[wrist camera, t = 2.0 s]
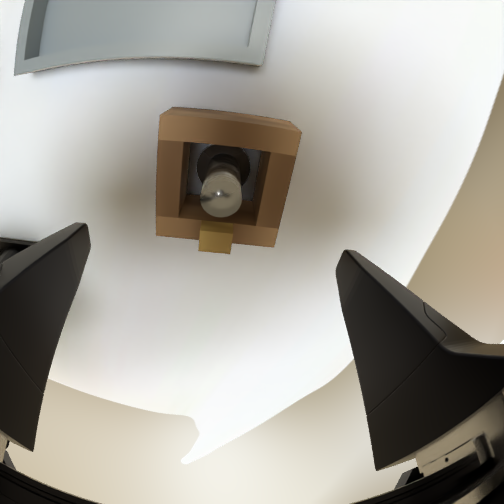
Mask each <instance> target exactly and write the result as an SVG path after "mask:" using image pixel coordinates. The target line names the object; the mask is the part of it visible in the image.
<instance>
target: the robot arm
mask: <svg viewBox="0 0 504 504" xmlns="http://www.w3.org/2000/svg"><path fill="white" fill-rule="evenodd" d="M90 248H91V243H90V237H89V231H88V226H87V224H86V223H74V224H72V225H70V226H68V227H66V228H64V229H62V230H60V231H58V232H56V233H54V234H52V235H50V236H48V237H47V238H45V239H43V240H41V241H39V242H37V243H33V242H25V241H17V240H10V239H2V238H0V504H101V503H98V502H94V501H91V500H88V499H84V498H81V497H78V496H75V495H72V494H70V493H67V492H64V491H62V490H59V489H56V488H54V487H51V486H49V485H47V484H44V483H42V482H40V481H37V480H35V479H33V478H31V477H29V476H27V475H25V474H23V473H21V472H19V471H17V470H16V469H15V467H14V465H13V463H12V461H11V459H10V457H9V454H8V452H7V451H6V450H5V449H6V448H7V447H8V445H9V442H10V441H11V442H13V443H14V444H17V445H19V446H21V447H23V448H25V449H27V450H29V451H32V452H33V450H34V444H35V438H36V431H37V425H38V420H39V415H40V410H41V404H42V400H43V396H44V394H43V393H44V390H45V387H46V382H47V379H48V375H49V371H50V367H51V364H52V360H53V357H54V354H55V350H56V347H57V344H58V341H59V338H60V335H61V332H62V329H63V326H64V323H65V320H66V317H67V315H68V312H69V309H70V307H71V304H72V301H73V299H74V296H75V294H76V291H77V289H78V286H79V283H80V280H81V277H82V274H83V270H84V267H85V264H86V261H87V258H88V255H89V252H90ZM336 279H337V284H338V290H339V296H340V303H341V308H342V312H343V316H344V320H345V324H346V328H347V331H348V335H349V339H350V343H351V347H352V351H353V356H354V360H355V364H356V368H357V373H358V377H359V382H360V386H361V391H362V396H363V401H364V406H365V411H366V415H367V422H368V427H369V433H370V439H371V445H372V451H373V457H374V464H375V469H376V471H379V470H382V469H385V468H388V467H391V466H394V465H397V464H400V463H403V462H405V461H408V460H411V459H414V458H416V461H417V465H418V467H416V468H414V469H411V470H409V471H407V472H404V473H403V474H402V475H401V477H400V479H399V481H398V483H397V485H396V487H395V489H394V490H392V491H389V492H386V493H383V494H380V495H377V496H374V497H371V498H368V499H365V500H361V501H358V502H354V503H351V504H504V344H486V343H482V342H479V341H477V340H476V339H474V338H472V337H471V336H470V335H468V334H467V333H466V332H464V331H463V330H462V329H460V328H459V327H457V326H456V325H455V324H453V323H452V322H451V321H449V320H448V319H447V318H445V317H444V316H442V315H441V314H440V313H438V312H437V311H436V310H435V309H433V308H432V307H431V306H429V305H428V304H427V303H426V302H423V300H422V299H420V298H419V297H418V296H416V295H415V294H414V293H413V292H411V291H410V290H408V289H407V288H406V287H405V286H403V285H402V284H401V283H399V282H398V281H397V280H395V279H394V278H393V277H391V276H390V275H389V274H387V273H386V272H384V271H383V270H382V269H380V268H379V267H378V266H376V265H375V264H373V263H372V262H371V261H369V260H368V259H366V258H365V257H364V256H362V255H361V254H359V253H358V252H356V251H354V250H344V251H343V253H342V255H341V257H340V260H339V262H338V265H337V267H336Z"/></svg>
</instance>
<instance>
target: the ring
mask: <svg viewBox="0 0 504 504" xmlns="http://www.w3.org/2000/svg"><path fill="white" fill-rule="evenodd" d="M301 134H302V132H301V131H300V130H299V129H298V128H297V127H295V126H294V125H293V124H292V123H291V122H290V121H285V120H279V119H274V118H268V117H262V116H256V115H249V114H242V113H234V112H226V111H217V110H207V109H195V108H181V107H172V108H171V109H169V110H167V111H165V112H164V113H162V114H161V115H160V121H159V134H158V151H157V174H156V236H165V237H175V238H185V239H195V240H199V250H198V251H204V252H214V253H225V254H230V251H231V245H232V243H235V244H245V245H255V246H264V247H274V245H275V241H276V237H277V233H278V229H279V225H280V221H281V217H282V213H283V209H284V205H285V201H286V197H287V193H288V189H289V185H290V180H291V176H292V172H293V168H294V164H295V159H296V155H297V151H298V147H299V142H300V138H301ZM191 142H195V143H206V144H215V145H224V146H233V147H241V148H248V149H255V150H262V152H261V158H260V163H259V168H258V174H257V179H256V184H255V189H254V195H253V200H252V201H247V200H242V202H241V205H240V207H239V209H238V210H237V211H236V212H235V213H234V214H232V215H230V216H227V217H215V216H212V215H210V214H208V213H207V212H206V211H205V210H204V209H203V207H202V205H201V202H200V195H192V194H186V193H187V180H188V168H189V156H190V146H191Z"/></svg>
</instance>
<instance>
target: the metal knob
mask: <svg viewBox="0 0 504 504" xmlns="http://www.w3.org/2000/svg"><path fill="white" fill-rule="evenodd" d="M249 173H250V162H249V158H248V155H247V153H246V152H245V151H244V150H243V148H241V147H233V146H224V145H215V144H211V145H209V146H207V147H206V148H205V149H204V150H203V151H202V153H201V154H200V156H199V159H198V162H197V174H198V177H199V179H200V181H201V182H202V183H203V186H202V190H201V195H200V202H201V205H202V207H203V209H204V210H205V211H206V212H207V213H208V214H210V215H212V216H215V217H227V216H230V215H232V214H234V213H235V212H236V211H237V210H238V209H239V207H240V205H241V202H242V193H241V186H242V185H243V184H244V183H245V182H246V180H247V179H248V176H249Z"/></svg>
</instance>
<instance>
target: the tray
mask: <svg viewBox="0 0 504 504" xmlns="http://www.w3.org/2000/svg"><path fill="white" fill-rule="evenodd" d="M275 2H276V0H25V3H24V8H23V12H22V17H21V22H20V28H19V34H18V40H17V48H16V57H15V68H14V76H16V75H21V74H27V73H33V72H37V71H42V70H46V69H51V68H56V67H62V66H68V65H74V64H81V63H89V62H97V61H107V60H121V59H142V58H174V59H197V60H210V61H221V62H230V63H238V64H245V65H252V66H258V67H259V66H262V65H263V61H264V56H265V51H266V46H267V41H268V36H269V31H270V26H271V21H272V16H273V11H274V7H275Z"/></svg>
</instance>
